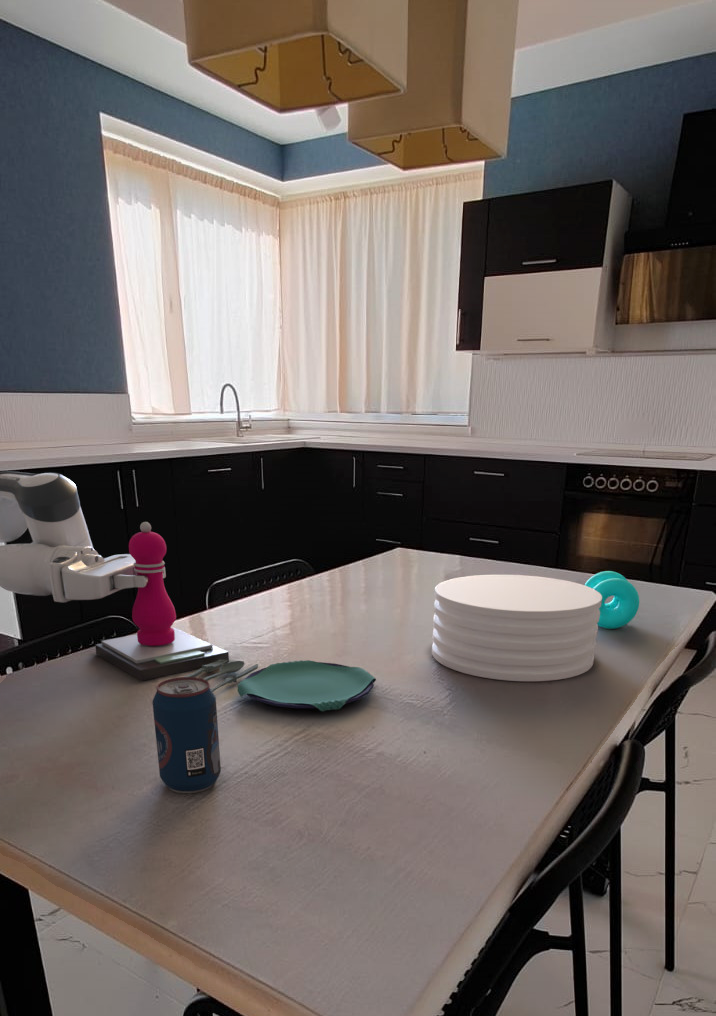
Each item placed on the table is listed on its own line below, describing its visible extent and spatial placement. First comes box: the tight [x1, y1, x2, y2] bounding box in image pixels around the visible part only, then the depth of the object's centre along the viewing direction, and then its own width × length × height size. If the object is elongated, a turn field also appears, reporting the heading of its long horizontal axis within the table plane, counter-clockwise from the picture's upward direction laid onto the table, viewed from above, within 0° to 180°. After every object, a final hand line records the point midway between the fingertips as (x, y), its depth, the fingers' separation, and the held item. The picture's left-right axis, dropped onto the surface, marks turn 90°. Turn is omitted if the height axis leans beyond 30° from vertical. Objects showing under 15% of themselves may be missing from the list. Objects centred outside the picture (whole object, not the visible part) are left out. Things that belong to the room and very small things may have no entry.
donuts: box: [584, 570, 640, 630], centre depth 154 cm, size 10×10×10 cm
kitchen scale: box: [94, 627, 230, 682], centre depth 132 cm, size 18×16×2 cm
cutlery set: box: [184, 659, 377, 712], centre depth 119 cm, size 20×30×2 cm, turn 66°
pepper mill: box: [128, 521, 177, 646], centre depth 129 cm, size 7×7×20 cm
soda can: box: [152, 676, 222, 794], centre depth 87 cm, size 7×7×12 cm
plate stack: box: [431, 574, 602, 682], centre depth 134 cm, size 28×28×12 cm
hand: (155, 577), depth 128 cm, fingers closed on pepper mill, 5 cm apart
